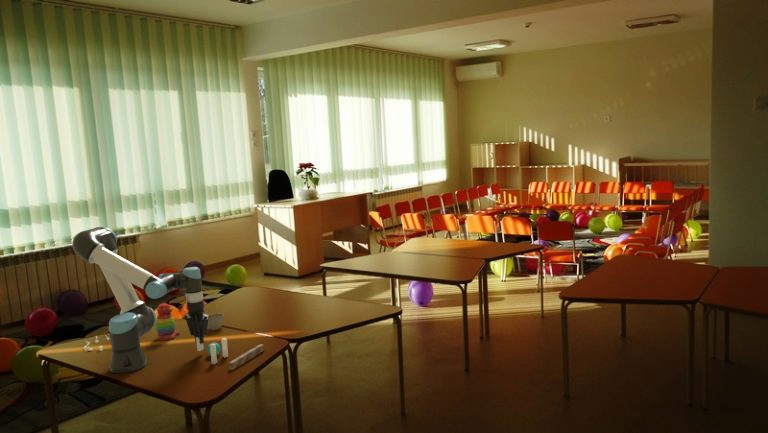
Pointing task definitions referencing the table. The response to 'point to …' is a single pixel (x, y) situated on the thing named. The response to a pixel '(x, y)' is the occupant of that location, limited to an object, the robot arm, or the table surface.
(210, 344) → the ball
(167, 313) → the stacking bear
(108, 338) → the game piece set
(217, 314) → the grey round cup
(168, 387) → the table surface
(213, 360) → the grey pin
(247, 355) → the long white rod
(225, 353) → the ivory pin
